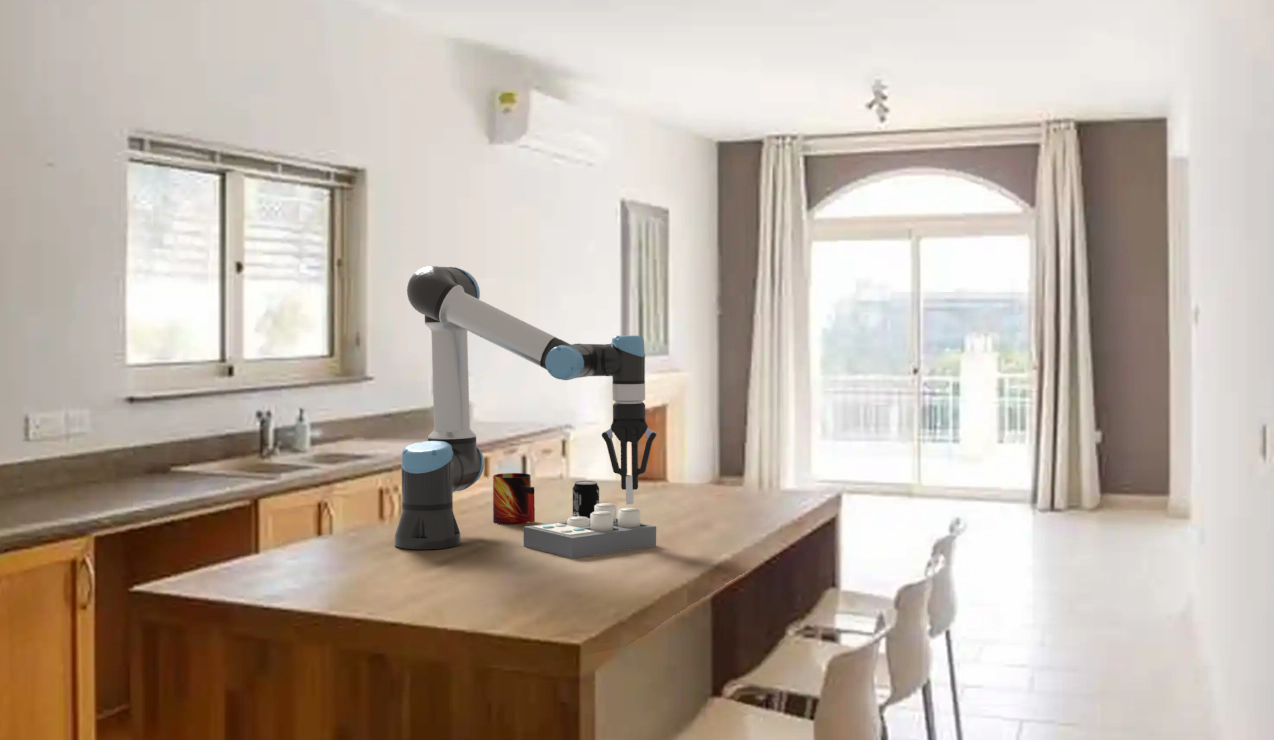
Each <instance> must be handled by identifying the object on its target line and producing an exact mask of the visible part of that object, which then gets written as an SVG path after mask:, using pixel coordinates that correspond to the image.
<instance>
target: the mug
mask: <svg viewBox="0 0 1274 740" xmlns="http://www.w3.org/2000/svg"><path fill="white" fill-rule="evenodd" d="M531 483H532V482H531V474H529V473H524V472H506V473H498V474H493V475H492V498H493V499H492V502H493V503H492V511H493V512H492V513H493V517H492V519H493V520H492V522H493V524H496V523H497V525H502V524H503V526H504V525H505V526H507V525H508V526H509V525H510V526H511V525H513V526H515V525H527V524H529V523H535V520H536V517H535V516H536V515H535V511H536V510H535V509H536V508H535V487H533V486H531Z"/></svg>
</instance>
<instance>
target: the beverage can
mask: <svg viewBox="0 0 1274 740" xmlns="http://www.w3.org/2000/svg"><path fill="white" fill-rule="evenodd" d="M599 503H600V487H599V485H598V481H596V480H576V481H574V485H573V487H572V517H575V516H582V517H587V518H590V514H591V513H592V512H594V506H595V505H596V504H599Z"/></svg>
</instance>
